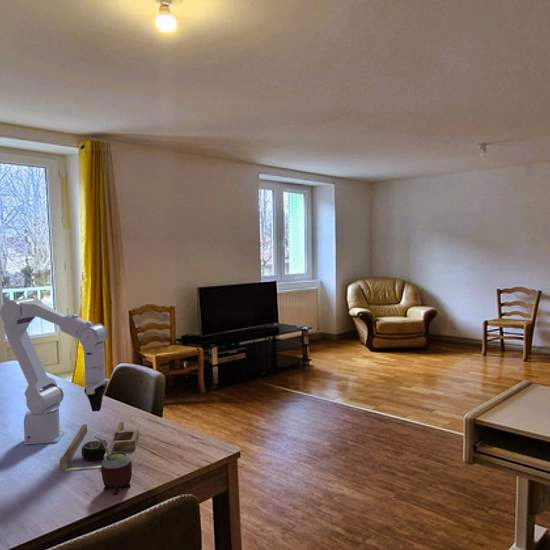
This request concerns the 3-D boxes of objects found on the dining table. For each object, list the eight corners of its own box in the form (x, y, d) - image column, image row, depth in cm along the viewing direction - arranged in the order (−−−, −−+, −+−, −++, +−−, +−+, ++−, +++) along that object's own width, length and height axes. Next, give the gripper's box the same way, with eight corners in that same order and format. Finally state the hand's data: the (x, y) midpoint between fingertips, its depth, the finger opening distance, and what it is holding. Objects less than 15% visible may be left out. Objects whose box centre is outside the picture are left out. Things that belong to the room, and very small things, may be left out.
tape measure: (107, 460, 129) (107, 447, 128) (81, 464, 126) (80, 451, 126) (107, 450, 135) (107, 437, 135) (82, 454, 133) (81, 441, 132)
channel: (58, 471, 122) (58, 461, 122) (82, 432, 148) (82, 423, 148) (130, 465, 125) (130, 455, 125) (141, 427, 151) (141, 419, 151)
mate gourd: (134, 479, 118) (132, 421, 117) (129, 496, 110) (127, 434, 109) (103, 482, 116) (101, 423, 115) (96, 499, 109) (94, 436, 108)
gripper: (104, 371, 132) (105, 418, 133) (113, 359, 146) (114, 401, 147) (77, 373, 131) (79, 420, 132) (89, 360, 145) (91, 402, 146)
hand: (96, 410), depth 139 cm, fingers closed
